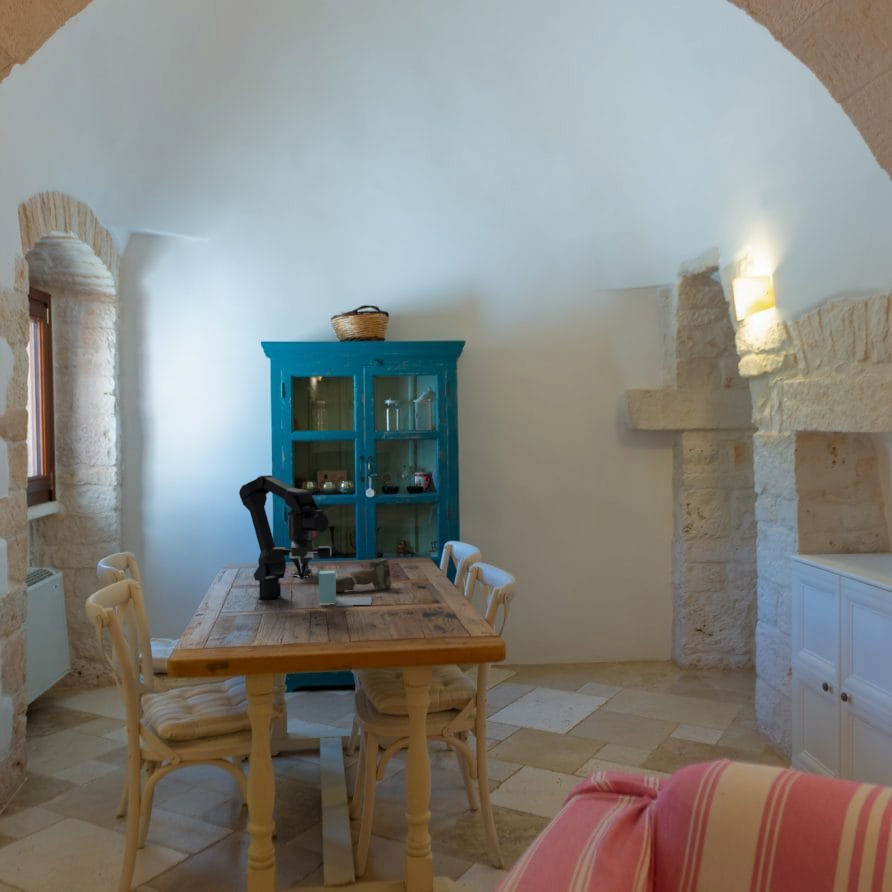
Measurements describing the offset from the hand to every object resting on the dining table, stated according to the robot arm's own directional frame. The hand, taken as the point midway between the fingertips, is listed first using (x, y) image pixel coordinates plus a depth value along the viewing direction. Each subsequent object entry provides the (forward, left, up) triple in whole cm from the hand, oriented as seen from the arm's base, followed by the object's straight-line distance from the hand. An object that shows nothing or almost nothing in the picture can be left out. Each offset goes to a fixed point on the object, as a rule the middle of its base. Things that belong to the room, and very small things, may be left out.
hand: (301, 578), depth 268 cm
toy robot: (-5, +55, -8) cm, 56 cm away
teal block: (+8, 0, -8) cm, 11 cm away
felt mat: (+17, 0, -8) cm, 18 cm away
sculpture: (+17, +20, -8) cm, 28 cm away
